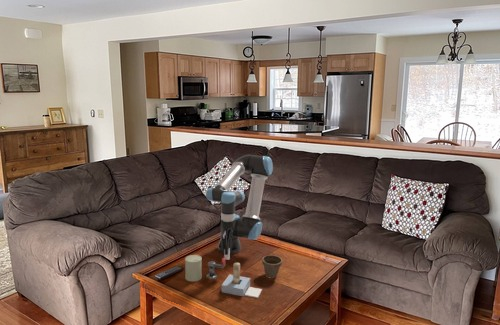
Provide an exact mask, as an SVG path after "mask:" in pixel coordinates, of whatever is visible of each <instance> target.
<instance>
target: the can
mask: <svg viewBox="0 0 500 325" xmlns="http://www.w3.org/2000/svg"><path fill="white" fill-rule="evenodd" d="M184 261H185V263H184V264H185V267H184V269H185V270H184V272H185V277H184V278H185V280H186V281H189V282H198V281H200V280H201V279H202V277H203V275H202V256H201V255H199V254H190V255H187V256H186V257H185V258H184Z"/></svg>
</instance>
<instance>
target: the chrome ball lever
mask: <svg viewBox="0 0 500 325" xmlns="http://www.w3.org/2000/svg"><path fill="white" fill-rule="evenodd" d="M225 267H226V258H224V257H222V258H221V264H220V263H216V261H214V260H211V261H208V262H207V268H214V269H215V268H219V269H224V268H225Z"/></svg>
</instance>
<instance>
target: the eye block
mask: <svg viewBox="0 0 500 325" xmlns="http://www.w3.org/2000/svg"><path fill="white" fill-rule="evenodd" d="M249 287H251V277H246V276H241V275H240V284H239V285H238V284H233V274H230V273H229V274H228V276H227V277H226V279H225V280H224V281H223V283H222V284H221V293H224V294H228V295H234V296H240V297H245V293H246V292H247V290H248V288H249Z"/></svg>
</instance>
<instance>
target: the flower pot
mask: <svg viewBox="0 0 500 325" xmlns="http://www.w3.org/2000/svg"><path fill="white" fill-rule="evenodd" d="M261 262H262V265H263V270H264V275H265V277H266V278H269V277H270V278H269V279H275V278H277V276H278V273H279V270H280V267H282V265H283V259H282V258H281V257H280V256H278V255H273V254H268V255H265V256H263V257H262V259H261ZM274 277H275V278H274Z"/></svg>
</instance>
